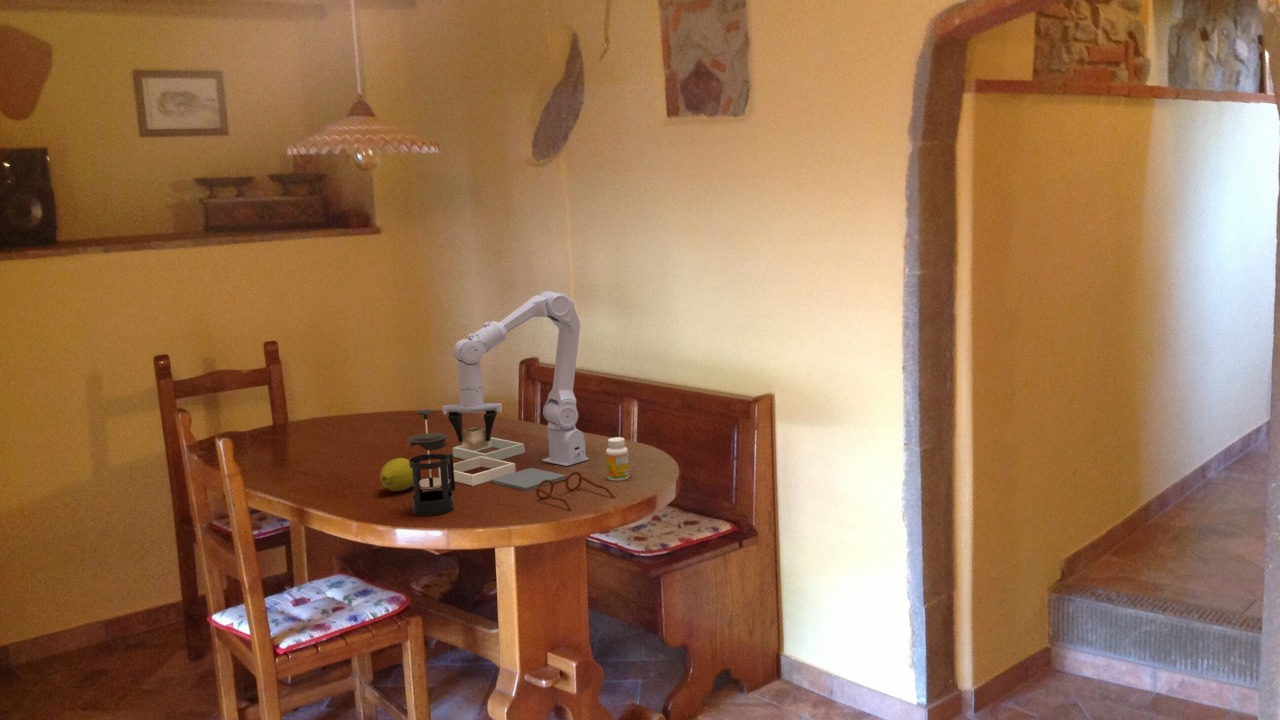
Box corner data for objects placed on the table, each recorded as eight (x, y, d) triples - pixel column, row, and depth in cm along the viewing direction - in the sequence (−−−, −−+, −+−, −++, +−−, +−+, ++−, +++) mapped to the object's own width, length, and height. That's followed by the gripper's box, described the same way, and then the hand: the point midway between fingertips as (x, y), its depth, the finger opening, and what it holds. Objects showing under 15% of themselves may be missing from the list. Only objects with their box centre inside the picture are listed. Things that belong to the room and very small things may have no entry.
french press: (430, 519, 245) (421, 417, 241) (401, 513, 251) (392, 413, 247) (468, 505, 254) (460, 406, 251) (439, 499, 260) (431, 403, 256)
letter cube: (488, 446, 279) (486, 428, 278) (473, 450, 276) (472, 432, 275) (476, 444, 282) (475, 426, 281) (462, 448, 279) (461, 430, 278)
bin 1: (524, 452, 300) (524, 443, 300) (485, 463, 291) (484, 454, 290) (492, 446, 310) (492, 437, 309) (453, 456, 300) (452, 447, 300)
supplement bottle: (604, 477, 272) (602, 438, 271) (625, 474, 274) (622, 435, 273) (611, 482, 267) (609, 442, 266) (632, 479, 269) (630, 440, 268)
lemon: (404, 483, 276) (401, 452, 274) (426, 487, 271) (424, 455, 270) (370, 495, 267) (367, 462, 266) (393, 499, 263) (390, 466, 261)
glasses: (580, 489, 264) (579, 469, 263) (616, 499, 254) (615, 478, 254) (535, 502, 256) (534, 481, 255) (571, 513, 246) (569, 491, 245)
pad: (566, 478, 273) (566, 475, 272) (525, 491, 263) (525, 487, 263) (531, 470, 282) (531, 467, 281) (491, 482, 272) (490, 479, 272)
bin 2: (515, 473, 280) (515, 463, 280) (472, 485, 270) (472, 475, 270) (481, 465, 289) (481, 455, 289) (439, 477, 280) (438, 467, 279)
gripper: (502, 383, 280) (506, 436, 282) (445, 385, 281) (449, 438, 283) (497, 388, 273) (501, 442, 275) (439, 391, 274) (443, 444, 276)
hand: (474, 440), depth 278 cm, fingers closed on letter cube, 6 cm apart
